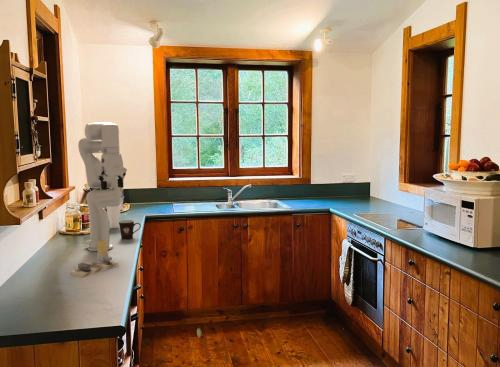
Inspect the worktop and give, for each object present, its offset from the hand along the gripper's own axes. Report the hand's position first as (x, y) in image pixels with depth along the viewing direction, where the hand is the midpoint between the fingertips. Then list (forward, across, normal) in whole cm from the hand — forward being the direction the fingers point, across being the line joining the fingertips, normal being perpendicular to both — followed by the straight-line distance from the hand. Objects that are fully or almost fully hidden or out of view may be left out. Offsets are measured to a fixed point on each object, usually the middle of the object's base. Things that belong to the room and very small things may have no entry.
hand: (112, 188), depth 208 cm
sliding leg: (+34, -4, +3) cm, 35 cm away
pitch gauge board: (+36, -10, +3) cm, 38 cm away
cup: (+36, +57, +65) cm, 94 cm away
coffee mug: (+36, +41, +34) cm, 64 cm away
